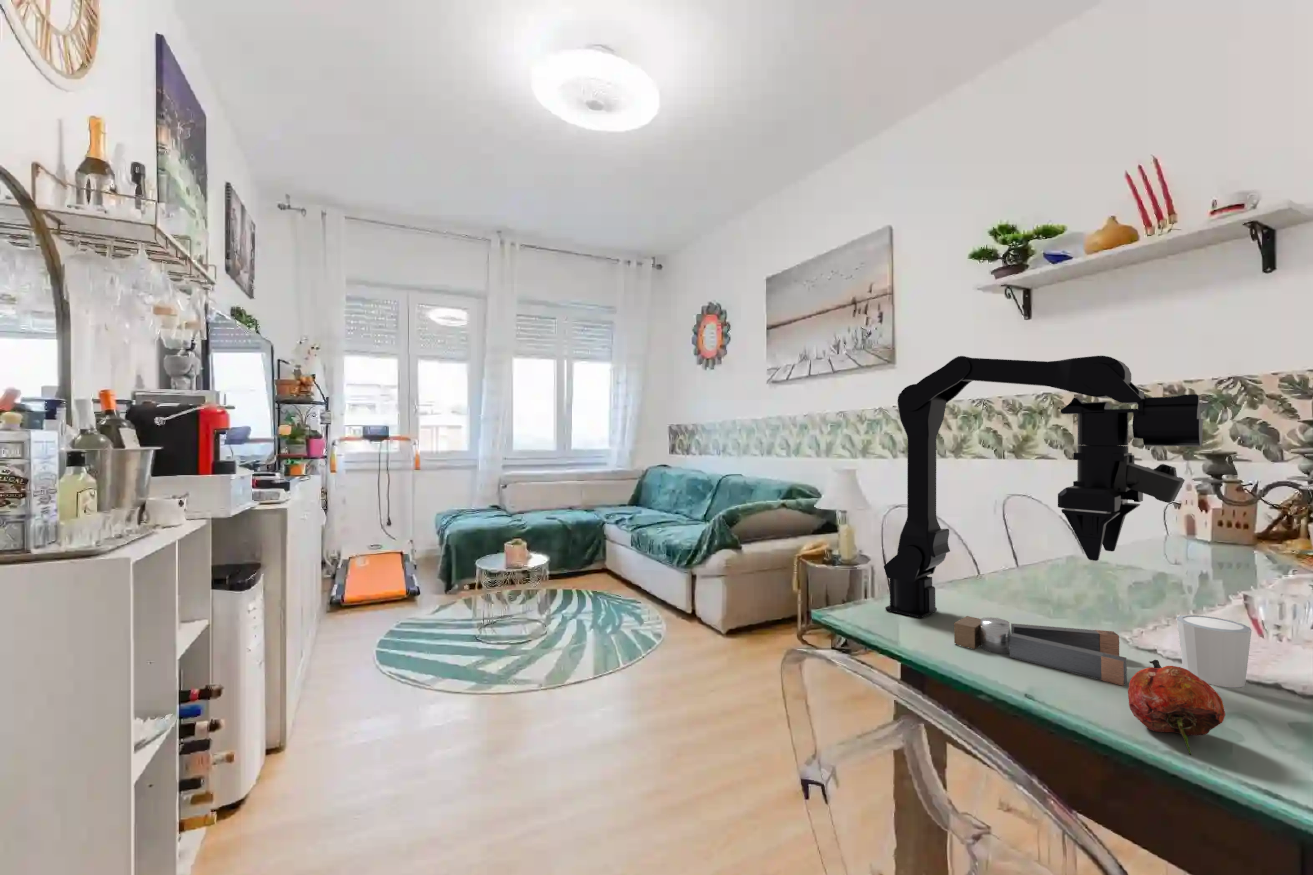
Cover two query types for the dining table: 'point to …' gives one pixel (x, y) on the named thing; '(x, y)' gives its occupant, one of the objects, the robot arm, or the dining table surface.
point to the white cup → (1214, 649)
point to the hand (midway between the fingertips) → (1101, 555)
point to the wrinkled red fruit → (1174, 701)
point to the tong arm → (1072, 637)
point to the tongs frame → (1039, 650)
